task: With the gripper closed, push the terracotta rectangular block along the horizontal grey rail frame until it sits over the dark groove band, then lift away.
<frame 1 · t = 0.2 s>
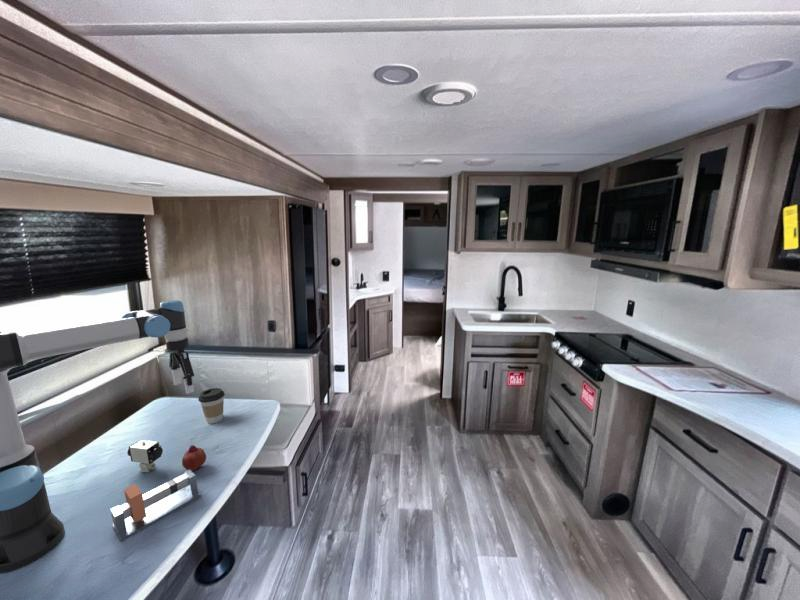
hand: (183, 388, 138), 28 cm above the table, fingers open, 13 cm apart
terracotta rectangular block: (135, 502, 104), point 7 cm above the table, slide at -5.5 cm
grey rail frame: (159, 511, 110), on the table
pneumatic valve: (149, 469, 131), on the table
coffee cup: (215, 420, 166), on the table
fruit: (195, 469, 130), on the table
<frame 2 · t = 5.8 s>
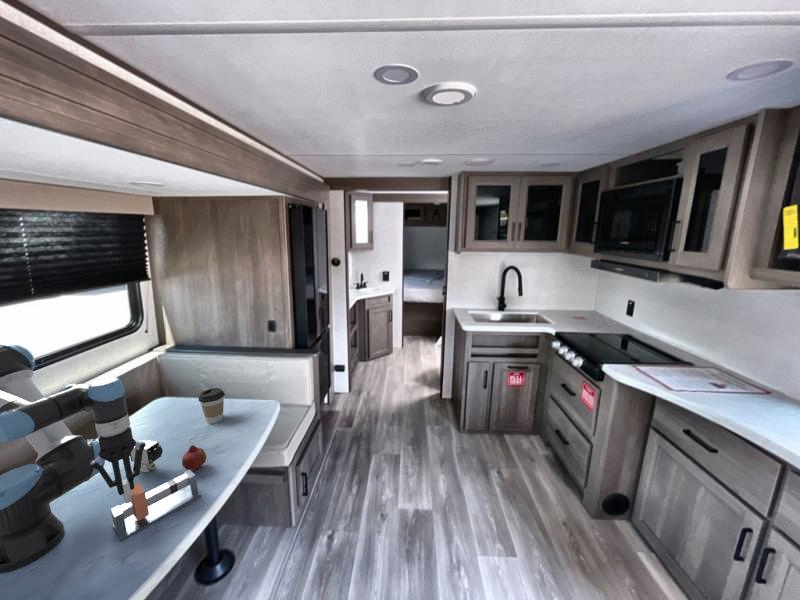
hand: (128, 500, 102), 9 cm above the table, fingers closed
terracotta rectangular block: (138, 501, 105), point 7 cm above the table, slide at -4.7 cm, touching gripper
everything else where it was.
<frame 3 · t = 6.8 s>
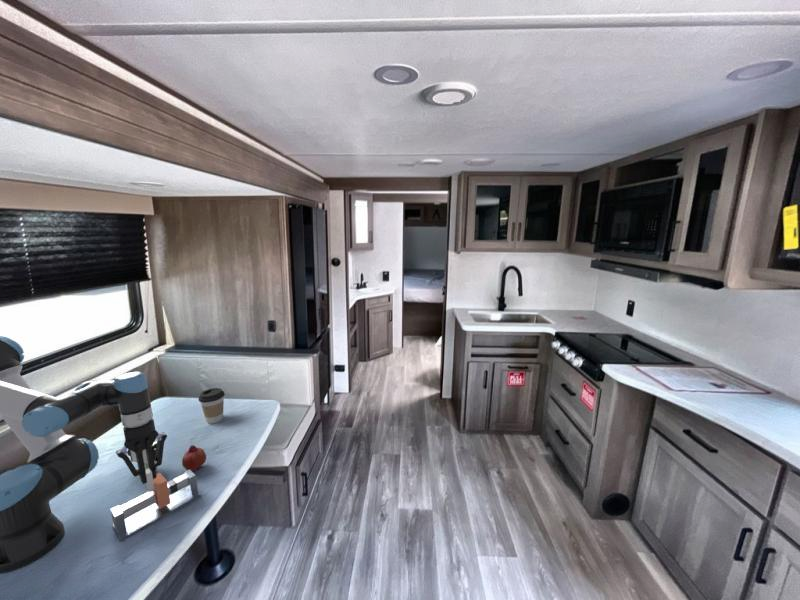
hand: (150, 489, 107), 9 cm above the table, fingers closed
terracotta rectangular block: (159, 490, 109), point 7 cm above the table, slide at 1.1 cm, touching gripper
everything else where it was.
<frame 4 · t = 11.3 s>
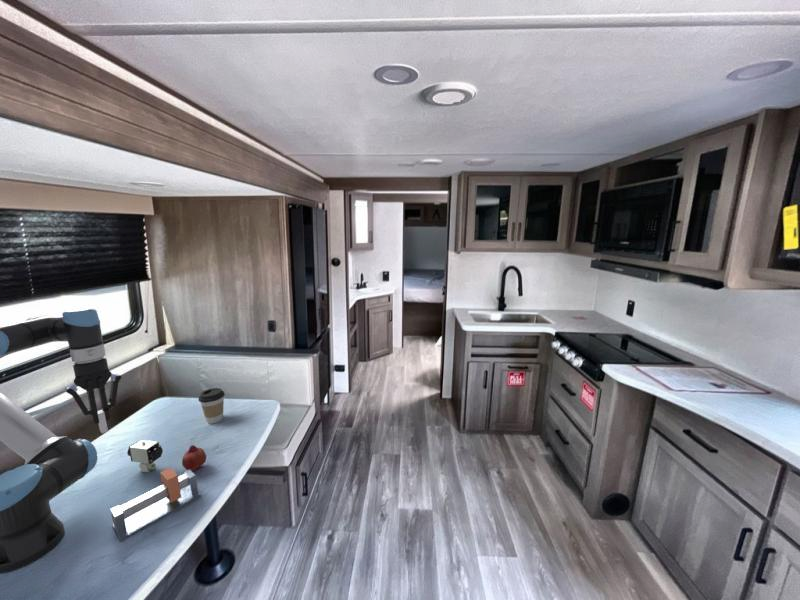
hand: (103, 430, 104), 29 cm above the table, fingers closed
terracotta rectangular block: (170, 484, 112), point 7 cm above the table, slide at 4.2 cm
everything else where it was.
at the end: terracotta rectangular block slide at 4.2 cm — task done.
